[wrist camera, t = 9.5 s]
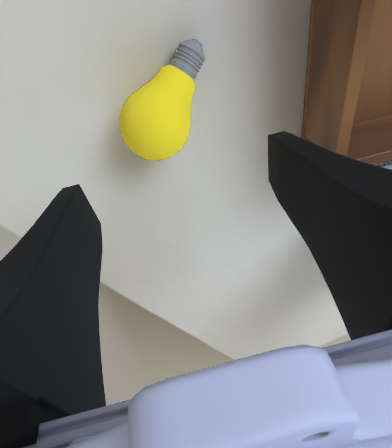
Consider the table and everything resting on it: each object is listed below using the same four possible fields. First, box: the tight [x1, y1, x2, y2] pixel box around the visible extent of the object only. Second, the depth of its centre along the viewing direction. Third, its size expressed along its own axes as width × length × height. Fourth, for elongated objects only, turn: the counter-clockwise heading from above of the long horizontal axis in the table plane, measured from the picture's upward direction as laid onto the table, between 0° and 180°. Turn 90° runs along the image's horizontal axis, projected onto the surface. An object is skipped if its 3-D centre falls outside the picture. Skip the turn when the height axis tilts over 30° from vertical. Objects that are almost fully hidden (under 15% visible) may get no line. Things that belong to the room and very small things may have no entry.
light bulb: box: [120, 39, 205, 161], centre depth 15 cm, size 3×6×4 cm, turn 144°
